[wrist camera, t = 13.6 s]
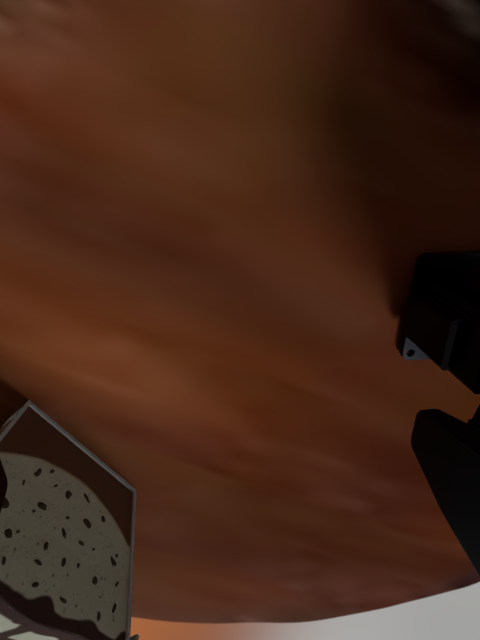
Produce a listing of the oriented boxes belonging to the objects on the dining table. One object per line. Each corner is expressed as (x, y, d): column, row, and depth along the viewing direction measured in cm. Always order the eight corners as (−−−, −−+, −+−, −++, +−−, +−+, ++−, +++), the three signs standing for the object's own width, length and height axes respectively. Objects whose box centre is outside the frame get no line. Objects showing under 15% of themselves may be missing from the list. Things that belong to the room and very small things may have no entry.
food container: (-74, 438, 22) (-246, 640, 13) (7, 381, 22) (-118, 557, 13) (80, 544, 28) (30, 741, 19) (151, 502, 27) (134, 687, 18)
